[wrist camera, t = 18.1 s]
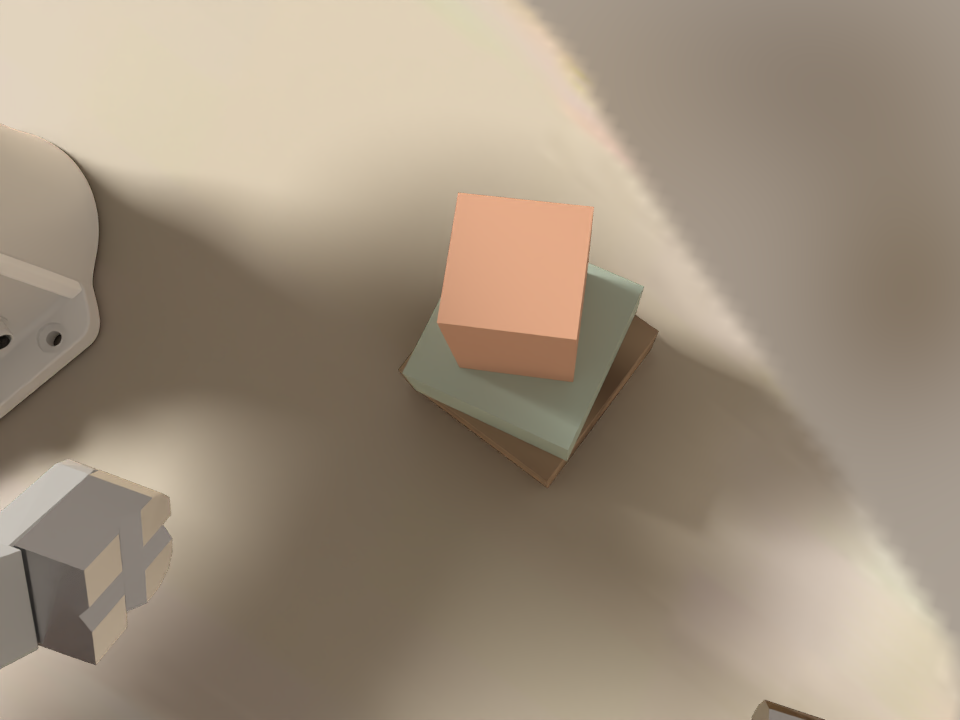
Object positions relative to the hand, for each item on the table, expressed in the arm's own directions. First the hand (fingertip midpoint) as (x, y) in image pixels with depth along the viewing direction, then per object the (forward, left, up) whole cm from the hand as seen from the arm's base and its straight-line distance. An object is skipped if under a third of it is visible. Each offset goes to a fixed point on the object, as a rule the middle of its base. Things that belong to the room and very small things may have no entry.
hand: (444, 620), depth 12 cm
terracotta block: (+9, +7, -26) cm, 28 cm away
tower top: (+9, +6, -30) cm, 32 cm away
